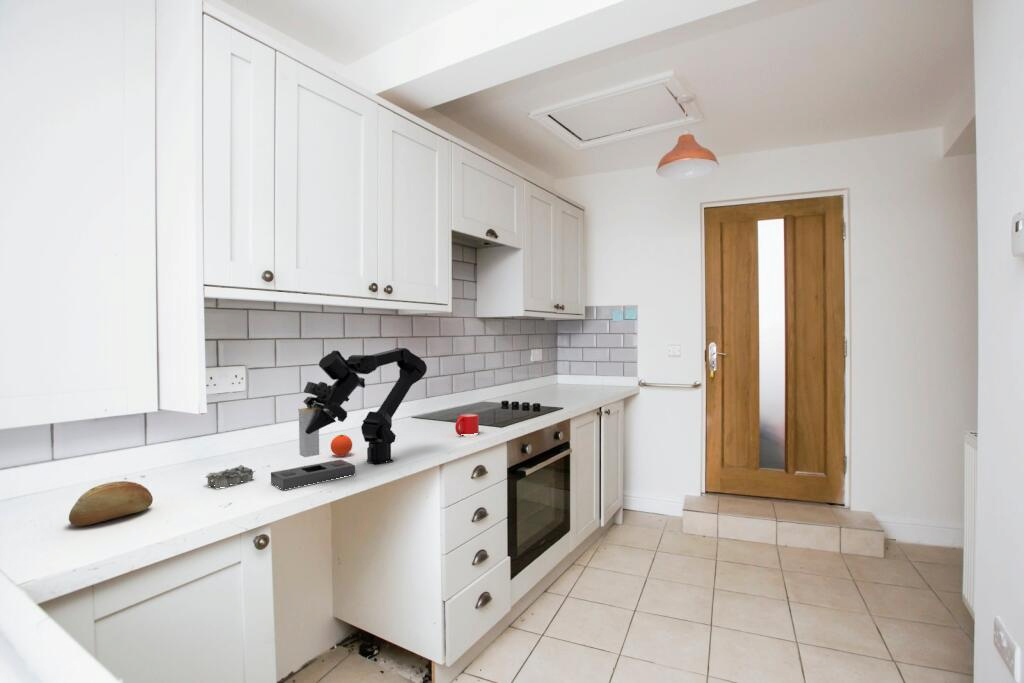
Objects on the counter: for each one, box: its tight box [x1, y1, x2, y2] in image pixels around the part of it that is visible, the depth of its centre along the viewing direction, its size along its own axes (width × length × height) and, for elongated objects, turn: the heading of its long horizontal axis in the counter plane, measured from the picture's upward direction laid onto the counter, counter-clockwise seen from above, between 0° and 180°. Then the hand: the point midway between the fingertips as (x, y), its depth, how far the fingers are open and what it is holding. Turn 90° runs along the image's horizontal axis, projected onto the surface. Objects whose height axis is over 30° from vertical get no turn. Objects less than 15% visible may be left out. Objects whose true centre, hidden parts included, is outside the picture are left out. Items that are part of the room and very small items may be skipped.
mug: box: [455, 413, 480, 436], centre depth 201 cm, size 8×12×8 cm, turn 148°
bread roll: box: [68, 480, 154, 527], centre depth 111 cm, size 10×15×8 cm, turn 146°
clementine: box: [330, 434, 353, 457], centre depth 168 cm, size 8×7×7 cm
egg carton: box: [204, 464, 256, 489], centre depth 137 cm, size 11×8×4 cm
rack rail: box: [270, 459, 356, 491], centre depth 140 cm, size 20×9×3 cm, turn 134°
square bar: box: [298, 407, 320, 458], centre depth 140 cm, size 4×4×13 cm
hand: (304, 432), depth 139 cm, fingers closed on square bar, 4 cm apart
